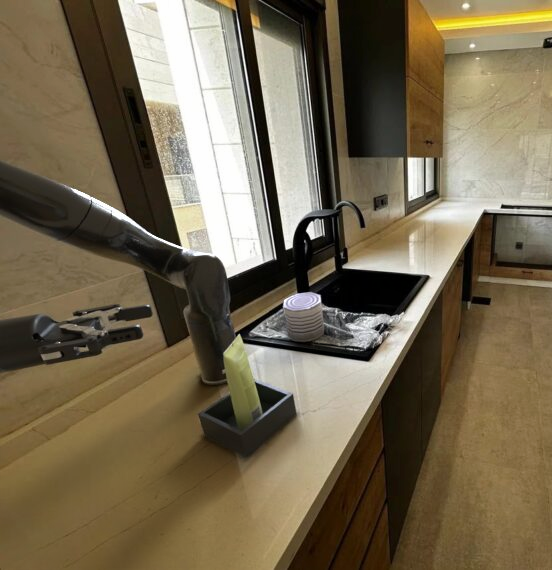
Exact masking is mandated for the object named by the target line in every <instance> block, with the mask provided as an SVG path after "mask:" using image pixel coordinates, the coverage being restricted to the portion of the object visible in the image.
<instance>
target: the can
mask: <svg viewBox="0 0 552 570" xmlns="http://www.w3.org/2000/svg"><path fill="white" fill-rule="evenodd" d="M282 308H283V311H284V317H285V318H284V319H285V323H286V329H287V330H286V331H287V337H288V338H289V339H290V340H291V341H294V342H299V343H300V342H301V343H305V342H310V341H313V340H317V339H319V338H320V337H322V336H323V335H324V333H325V322H324V315H323V305H322V295H321V294H318V293H315V292H312V291H308V292H301V293H294V294H293V295H291V296H289V297H287V298H285V299H284V300H283V304H282Z"/></svg>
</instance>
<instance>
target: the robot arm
mask: <svg viewBox="0 0 552 570" xmlns="http://www.w3.org/2000/svg"><path fill="white" fill-rule="evenodd" d="M0 217H1V218H4V219H6V220H7V221H10V222H11V223H14V224H16V225H17V226H20V227H22V228H24V229H27V230H29V231H31V232H33V233H36V234H38V235H40V236H43V237H45V238H48V239H50V240H53V241H55V242H58V243H61V244H64V245H66V246H69V247H71V248H74V249H76V250H80V251H82V252H86V253H88V254H92V255H94V256H98V257H101V258H105V259H108V260H112V261H116V262H120V263H123V264H127V265H131V266H134V267H136V268H138V269H141V270H143V271H146V272H148V273H149V274H151V275H154V276H156V277H158V278H159V279H162V280H164V281H166V282H168V283H169V284H171V285H173V286H174V287H177V288H180V289H183V290H185V291H186V294H187V299H188V303H189V304H188V305H186V306H185V307H184V309H183V317H184V320H185V323H186V324H185V325H186V327H187V331H188V333H189V337H190V340H191V345H192V350H193V354H194V357H195V360H196V363H197V367H198V370H199V373H200V377H201V380H202V382H203V384H205V385H208V386H217V385H223V384H226V383H227V384H228V382H227V377H226V371H225V366H224V357H223V353H224V352H225V351H226V350H227V348H228V347H229V346H230V345H231V344H232V342H233V341H234V340H235V339H236V337H237V336H236V332H235V327H234V324H233V323H234V322H233V319H232V314H231V310H230V303H231V291H230V287H229V281H228V275H227V271H226V267H225V265H224V263H223V262H222V260H221V259H220V258H219V257H218V256H216V255H214V254H212V253H208V252H203V251H198V250H194V249H190V248H189V249H188V248H186V247H183V246H179V245H176V244H174V243H172V242H169V241H167V240H164V239H162V238H160V237H157V236H155V235H153V234H152V233H151V232H149V231H147V230H146V229H145V228H144V227H142V226H141V225H140V224H139V223H137V222H135V221H134V220H133V219H132V218H130V217H129V216H128V215H126V214H125V213H124V212H121V211H120V210H118V209H116V208H115V207H112V206H110V205H108V204H107V203H104V202H103V201H101V200H99V199H96V198H95V197H92V196H91V195H89V194H86V193H85V192H82V191H80V190H78V189H76V188H73V187H71V186H69V185H66V184H64V183H61V182H59V181H56V180H54V179H52V178H49V177H47V176H44V175H41V174H38V173H36V172H33V171H30V170H27V169H25V168H22V167H20V166H17V165H14V164H11V163H9V162H7V161H4V160H2V159H0ZM153 315H154V312H153V309H152V306H151V305H149V304H142V305H137V306H130V307H125V308H124V307H122V306H121V304H120V303H114V304H109V305H103V306H97V307H92V308H85V309H81V310H80V309H79V310H75V311H73V312H72V317H69V318H66V319H65V320H61V321H56V320H54V319H53V318H52V317H51V316H49V315H48V314H45V313H36V314H30V315H24V316H23V315H22V316H19V317H18V316H16V317H11V318H4V319H0V374H4V373H8V372H13V371H18V370H23V369H24V370H25V369H28V368H33V367H37V366H44V365H46V366H49V365H54V364H60V363H64V362H70V361H75V360H76V361H77V360H80V359H86V358H91V357H96V356H97V357H98V356H100V355H102V354H103V350H106V349H109V348H111V347H112V346H113V345H119V344H123V343H128V342H132V341H137V340H141V339H143V337H144V331H143V329H142V326H141V325H140V324H134V325H129V326H123V327H122V326H121V327H117V328H113V327H114V326H117V325H119V324H122V323H124V322H133V321H137V320H142V319H148V318H149V319H150V318H152V317H153Z"/></svg>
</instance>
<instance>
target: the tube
mask: <svg viewBox="0 0 552 570" xmlns="http://www.w3.org/2000/svg"><path fill="white" fill-rule="evenodd" d="M223 357H224V366H225V371H226V377H227V386H228V391H229V393H230V396H231V400H232V404H233V409H234V413H235V417H236V421H237V425H238V428H239V429H240V430H241V431H242V430H244V429H245V428H246V427H248V426H249V425H250V424H251V423H253V422H254V421H255V420H256V419H258V418H259V417H260V416H262V415H263V412H262V408H261V404H260V400H259V397H258V393H257V389H256V385H255V382H254V379H255V378H254V375H253V371H252V368H251V365H250V361H249V358H248V354H247V352H246V348H245V345H244V341H243V339H242V336H241V334H240V333H239V334H237V336H236V339H235V340H234V341H233V342H232V344H231V345H230V346H229V347H228V348H227V350H226V351H225V352H224V353H223Z"/></svg>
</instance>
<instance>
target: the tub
mask: <svg viewBox="0 0 552 570" xmlns="http://www.w3.org/2000/svg"><path fill="white" fill-rule="evenodd" d="M254 382H255V385H256V389H257V393H258V397H259V400H260V404H261V408H262V412H263V415H262V416H260V417H259V418H258V419H256V420H255V421H254V422H253V423H251V424H250V425H249V426H248V427H246V428H245V429H244V430H242V431H241V430H240V429H239V428H238V425H237V421H236V417H235V413H234V409H233V404H232V400H231V396H230V392H229V393H227V394H226V395H224V396H223V397H221V398H219V399H218V400H217V401H215V402H213V403H211V404H210V405H209V406H208V407H206V408H205V409H204V408H203V410H201V411H200V412H198V413H197V417H198V421H199V424H200V426H201V429H202V432H203V437H206V438H207V439H210V440H211V441H213V442H215V443H217V444H219V445H221V446H223V447H225V448H226V449H228V450H230V451H232V452H234V453H236V454H237V455H240V456H242V457H243V458H245V459H248V458H249V457H251V455H253V454H254V453H255V452H256V451H257V450H259V448H261V447H262V446H264V444H266V442H268V441H269V440H270V439H271V438H273V436H274V435H276V434H277V433H278V432H279V431H280V430H281V429H282V428H284V426H286V425H288V423H289V422H290V421H291V420H292V419H293V418H295V417H296V416H297V415H298V414H297V413H298V412H297V408H296V403H295V396H294V393H293V392H290V391H287V390H284V389H282V388H280V387H277V386H275V385H272V384H269V383H268V382H264V381H261V380H259V379H256V378H254Z"/></svg>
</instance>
